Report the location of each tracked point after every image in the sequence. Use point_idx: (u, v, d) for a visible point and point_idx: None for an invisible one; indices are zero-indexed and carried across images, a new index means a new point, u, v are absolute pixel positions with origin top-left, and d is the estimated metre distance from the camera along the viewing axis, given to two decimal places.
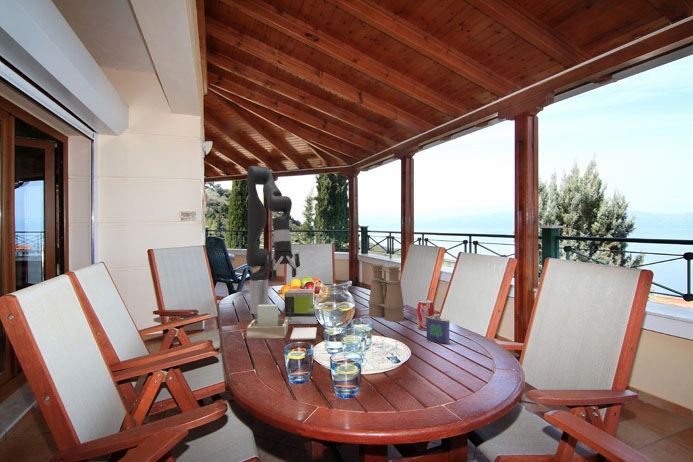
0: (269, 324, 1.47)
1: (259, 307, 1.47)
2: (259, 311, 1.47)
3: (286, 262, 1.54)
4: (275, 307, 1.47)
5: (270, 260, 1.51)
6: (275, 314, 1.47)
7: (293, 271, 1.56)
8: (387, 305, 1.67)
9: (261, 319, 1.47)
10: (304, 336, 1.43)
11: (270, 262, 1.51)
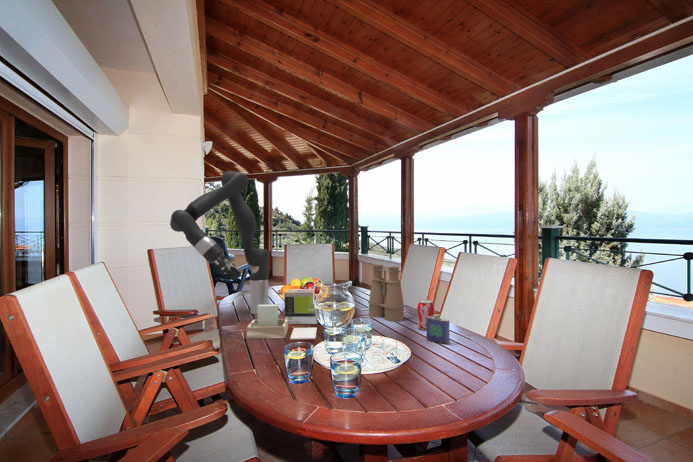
0: (269, 324, 1.47)
1: (259, 307, 1.47)
2: (259, 311, 1.47)
3: None
4: (275, 307, 1.47)
5: None
6: (275, 314, 1.47)
7: None
8: (387, 305, 1.67)
9: (261, 319, 1.47)
10: (304, 336, 1.43)
11: None
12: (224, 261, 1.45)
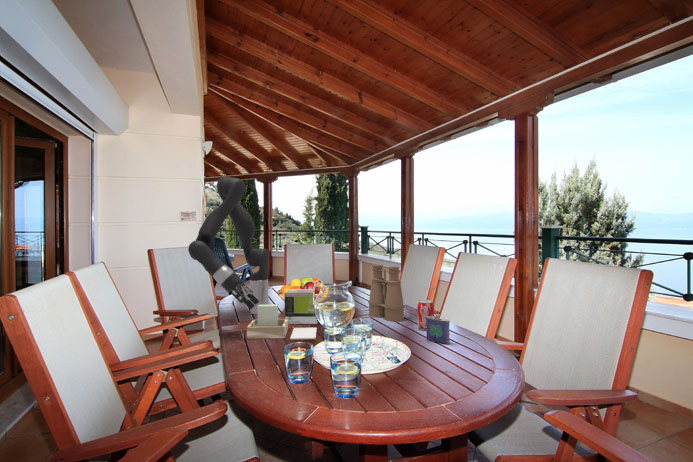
0: (269, 324, 1.47)
1: (259, 307, 1.47)
2: (259, 311, 1.47)
3: None
4: (275, 307, 1.47)
5: None
6: (275, 314, 1.47)
7: None
8: (387, 305, 1.67)
9: (261, 319, 1.47)
10: (304, 336, 1.43)
11: None
12: (242, 290, 1.45)
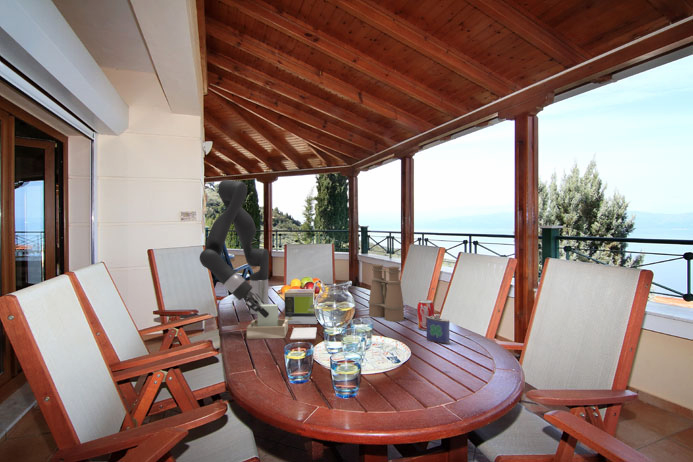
0: (269, 324, 1.47)
1: None
2: None
3: None
4: (275, 307, 1.47)
5: None
6: (275, 314, 1.47)
7: None
8: (387, 305, 1.67)
9: (261, 319, 1.47)
10: (304, 336, 1.43)
11: None
12: (254, 299, 1.46)
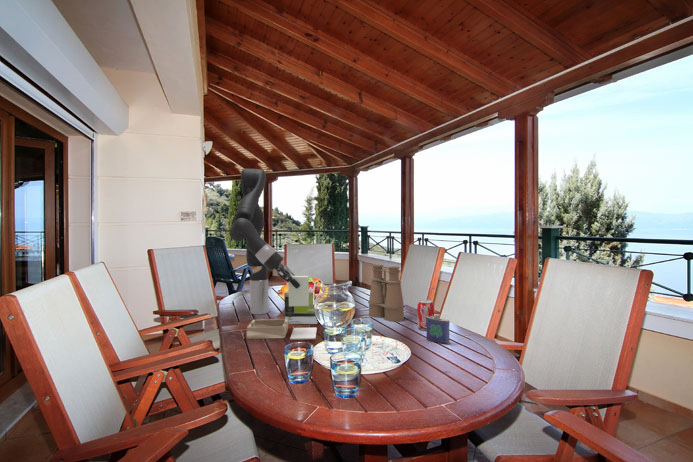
0: (300, 295, 1.47)
1: None
2: (290, 282, 1.46)
3: None
4: (306, 278, 1.47)
5: None
6: (306, 285, 1.47)
7: None
8: (387, 305, 1.67)
9: (292, 290, 1.46)
10: (304, 336, 1.43)
11: None
12: (286, 270, 1.46)
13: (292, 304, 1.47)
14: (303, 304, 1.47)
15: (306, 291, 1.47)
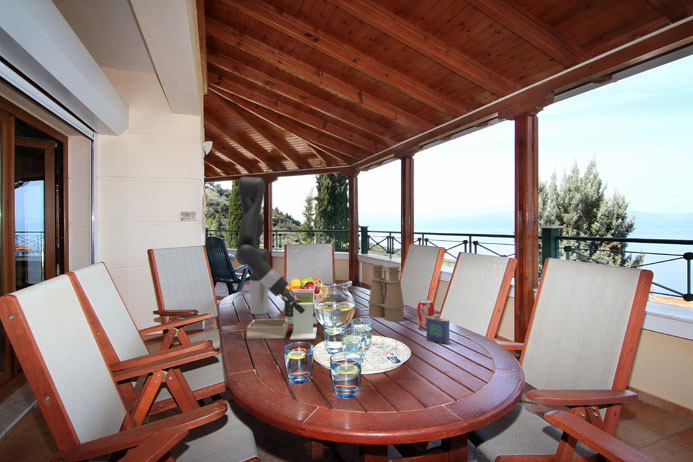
0: (305, 322, 1.47)
1: None
2: (295, 309, 1.47)
3: None
4: (311, 305, 1.47)
5: None
6: (311, 312, 1.47)
7: None
8: (387, 305, 1.67)
9: (296, 317, 1.47)
10: (304, 336, 1.43)
11: None
12: (290, 295, 1.46)
13: (297, 331, 1.47)
14: (308, 331, 1.47)
15: (311, 318, 1.47)
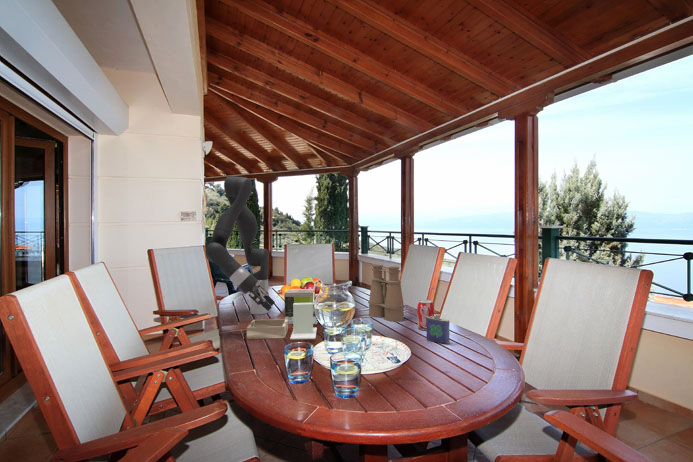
0: (305, 322, 1.47)
1: (295, 305, 1.47)
2: (295, 309, 1.47)
3: None
4: (311, 305, 1.47)
5: None
6: (311, 312, 1.47)
7: None
8: (387, 305, 1.67)
9: (296, 317, 1.47)
10: (304, 336, 1.43)
11: None
12: (259, 292, 1.46)
13: (297, 331, 1.47)
14: (308, 331, 1.47)
15: (311, 318, 1.47)
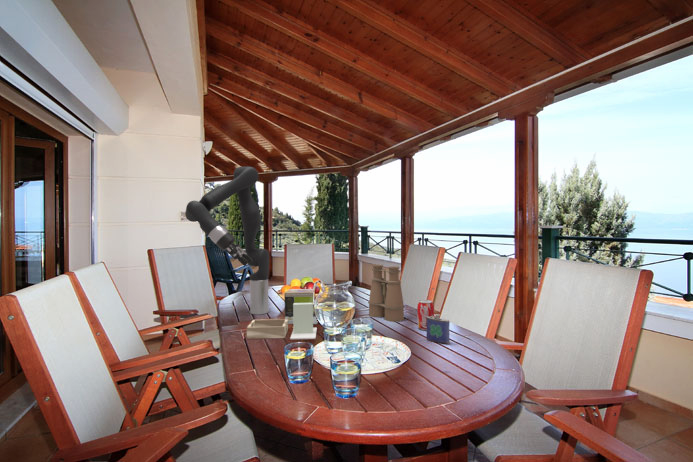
0: (305, 322, 1.47)
1: (295, 305, 1.47)
2: (295, 309, 1.47)
3: None
4: (311, 305, 1.47)
5: None
6: (311, 312, 1.47)
7: (241, 261, 1.53)
8: (387, 305, 1.67)
9: (296, 317, 1.47)
10: (304, 336, 1.43)
11: None
12: (236, 248, 1.54)
13: (297, 331, 1.47)
14: (308, 331, 1.47)
15: (311, 318, 1.47)
